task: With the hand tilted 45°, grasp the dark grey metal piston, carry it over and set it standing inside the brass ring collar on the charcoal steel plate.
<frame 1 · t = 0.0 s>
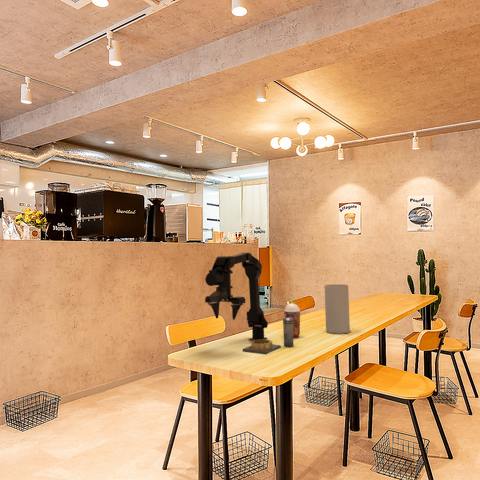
hand: (225, 318, 183), 15 cm above the table, tool pointing down, fingers open, 9 cm apart
ring collar: (262, 349, 186), on the table
piston: (288, 346, 190), on the table
cylinder vase: (337, 332, 220), on the table
smoothie: (293, 337, 210), on the table
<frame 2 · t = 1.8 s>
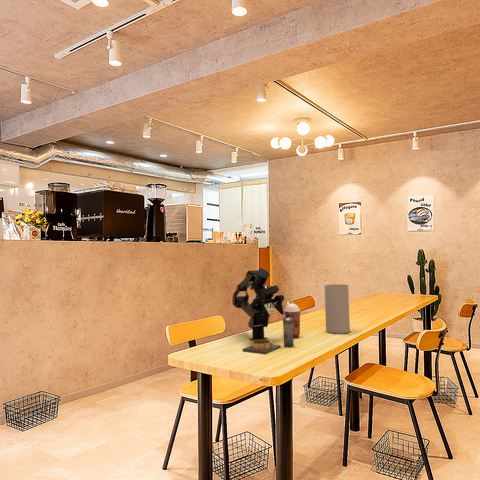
hand: (276, 315, 196), 14 cm above the table, tool tilted 45°, fingers open, 9 cm apart
nothing on the table moved.
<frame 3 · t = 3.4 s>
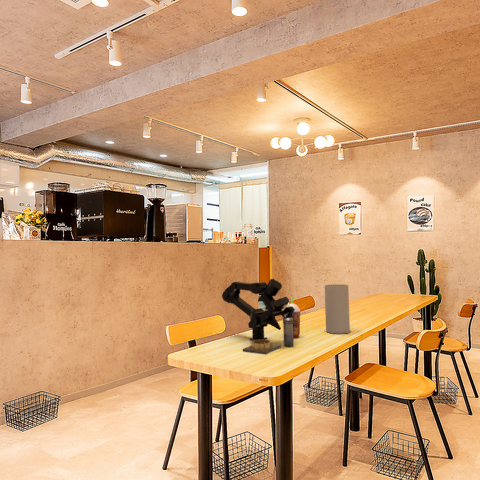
hand: (287, 327, 191), 8 cm above the table, tool tilted 45°, fingers open, 9 cm apart
nothing on the table moved.
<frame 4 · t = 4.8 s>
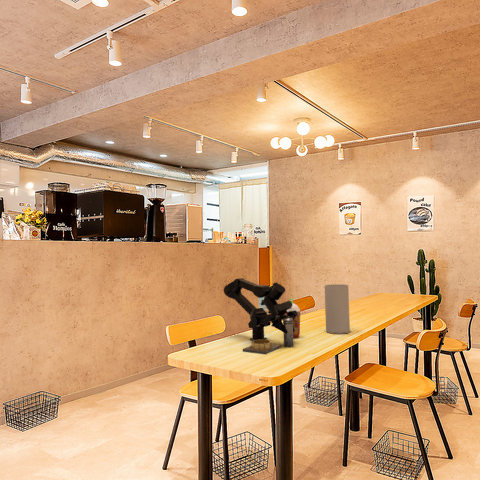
hand: (290, 332, 190), 7 cm above the table, tool tilted 45°, fingers closed on piston, 4 cm apart
piston: (288, 346, 190), on the table, touching gripper
everything else where it was.
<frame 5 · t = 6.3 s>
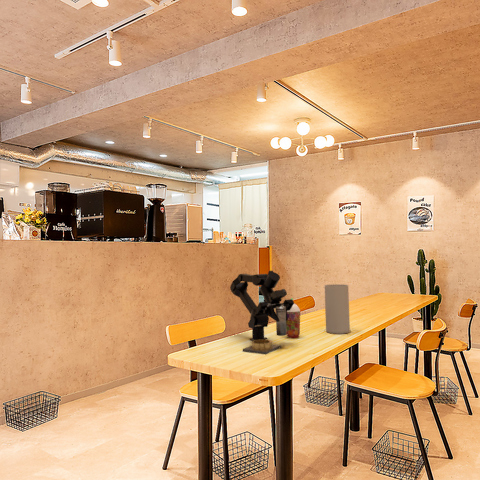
hand: (282, 320, 187), 12 cm above the table, tool tilted 45°, fingers closed on piston, 4 cm apart
piston: (281, 334, 188), point 6 cm above the table, touching gripper
everything else where it was.
when the fingers open (9 cm above the table, at t = 8.1 s): piston drops 1 cm, resting on ring collar.
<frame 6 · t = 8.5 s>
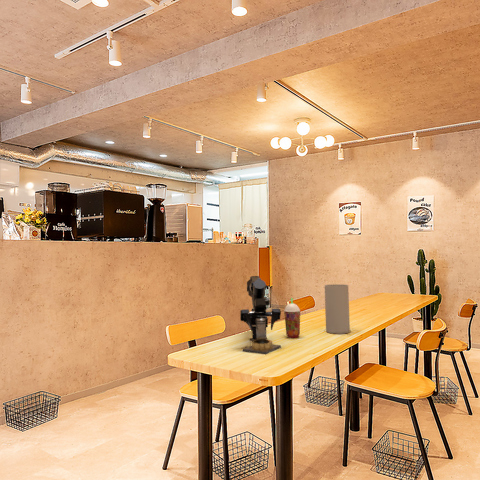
hand: (261, 329, 185), 9 cm above the table, tool tilted 45°, fingers open, 9 cm apart
piston: (262, 347, 186), point 1 cm above the table, touching ring collar
everything else where it was.
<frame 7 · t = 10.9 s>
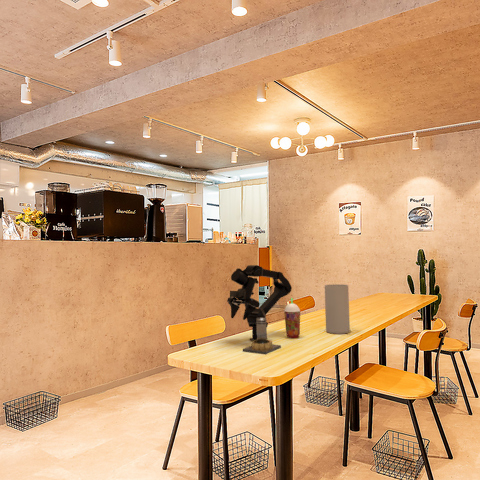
hand: (237, 318, 197), 12 cm above the table, tool tilted 25°, fingers open, 9 cm apart
nothing on the table moved.
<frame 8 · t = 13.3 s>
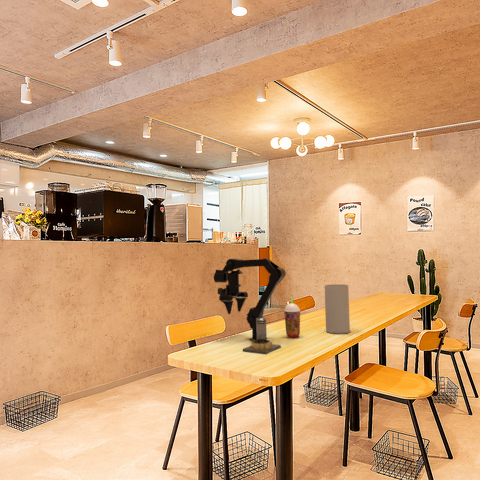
hand: (234, 312, 212), 13 cm above the table, tool pointing down, fingers open, 9 cm apart
nothing on the table moved.
at the end: piston 0.1 cm off-centre on the ring collar, point 1.0 cm above the ring collar's base; piston tilted 1°; the gripper is holding nothing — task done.
